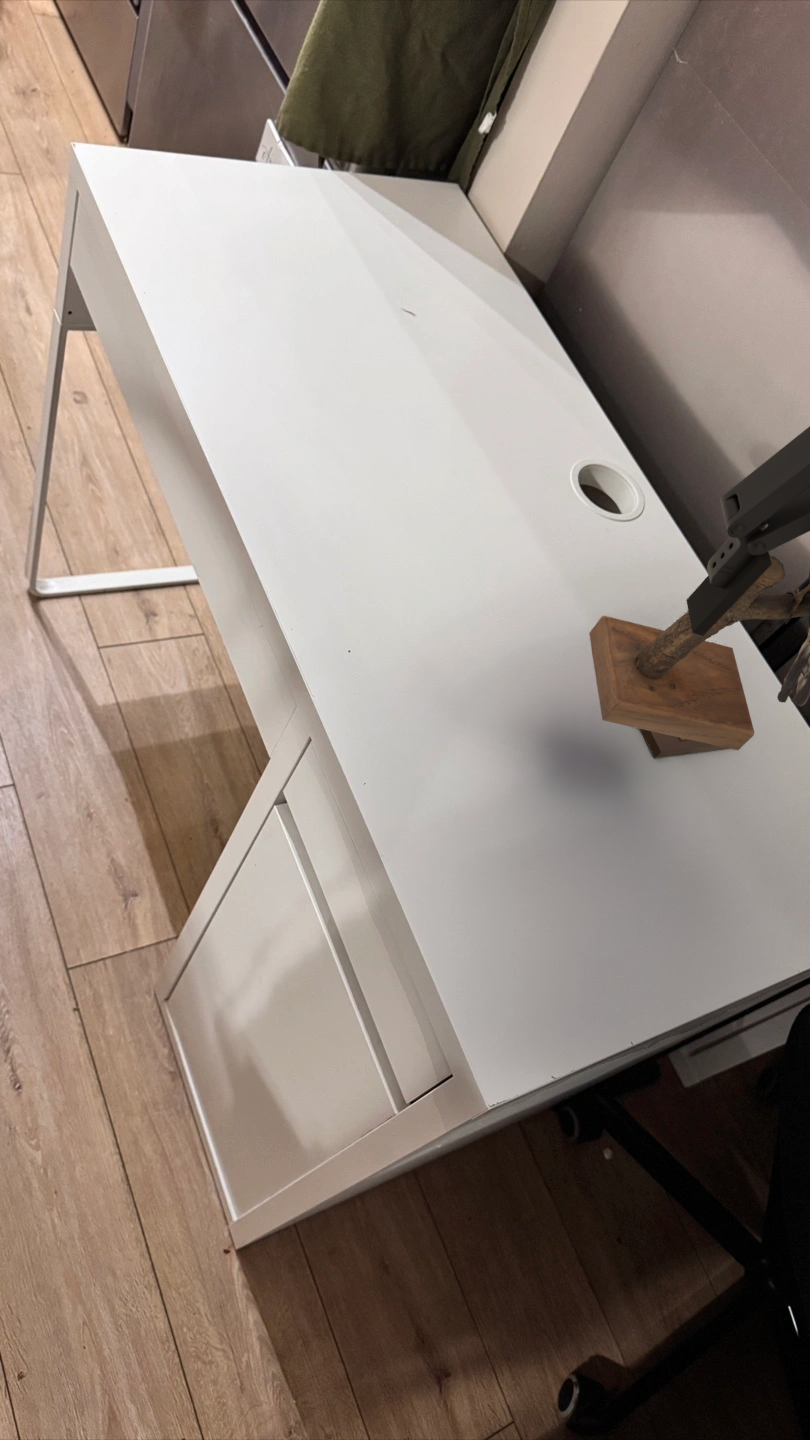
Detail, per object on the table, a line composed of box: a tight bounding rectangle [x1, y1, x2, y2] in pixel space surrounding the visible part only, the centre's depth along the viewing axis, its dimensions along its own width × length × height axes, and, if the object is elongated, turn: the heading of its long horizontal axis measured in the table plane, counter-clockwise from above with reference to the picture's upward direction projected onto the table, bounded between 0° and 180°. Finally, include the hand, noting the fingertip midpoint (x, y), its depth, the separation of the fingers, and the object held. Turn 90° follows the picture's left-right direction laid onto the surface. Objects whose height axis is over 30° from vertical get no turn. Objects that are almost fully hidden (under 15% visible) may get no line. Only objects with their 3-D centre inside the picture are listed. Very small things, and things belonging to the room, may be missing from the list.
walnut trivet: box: [639, 729, 749, 759], centre depth 88 cm, size 12×10×1 cm
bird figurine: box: [588, 554, 810, 751], centre depth 61 cm, size 11×14×25 cm
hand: (762, 639), depth 63 cm, fingers closed on bird figurine, 9 cm apart
